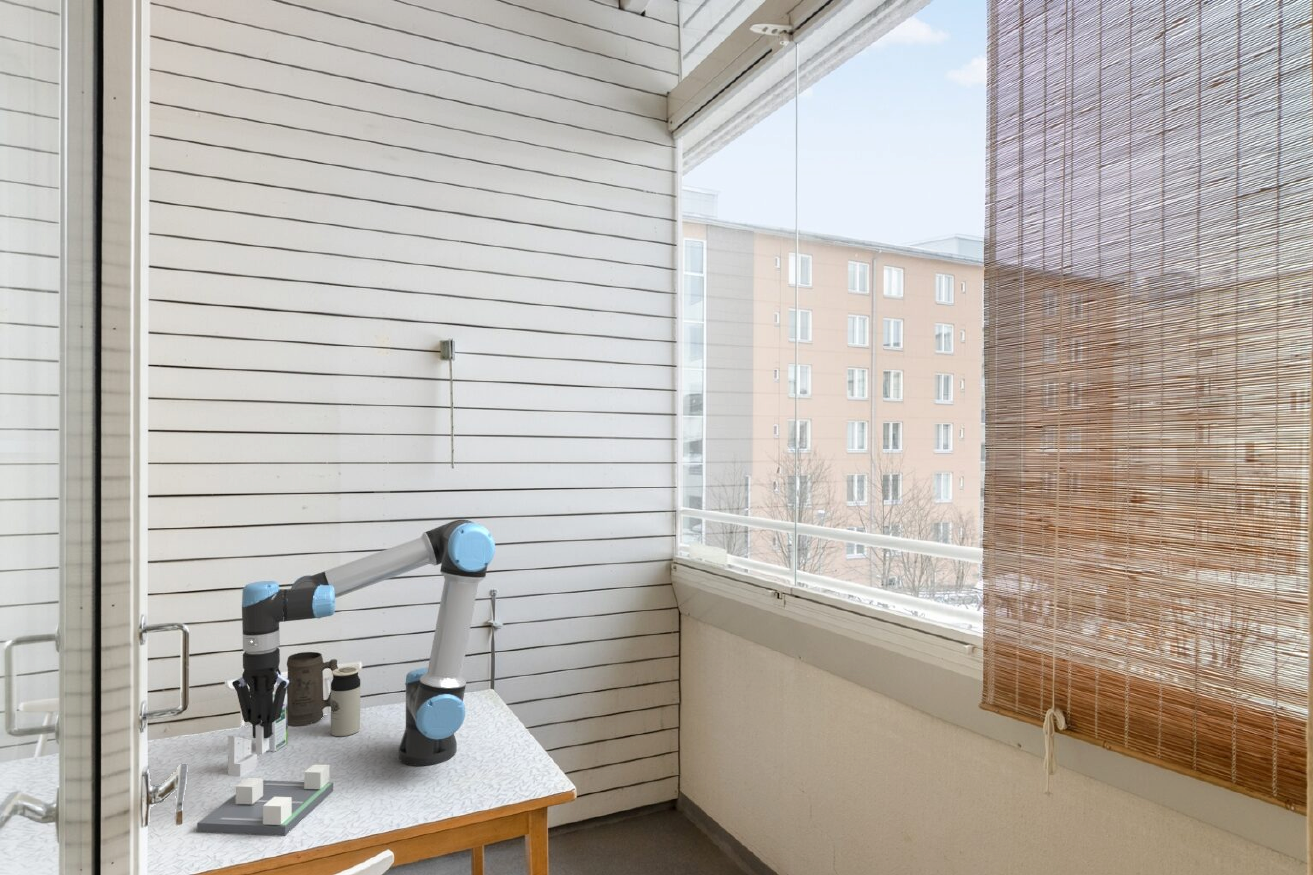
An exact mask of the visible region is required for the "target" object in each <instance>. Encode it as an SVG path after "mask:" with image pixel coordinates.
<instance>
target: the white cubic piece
mask: <svg viewBox="0 0 1313 875" xmlns="http://www.w3.org/2000/svg"><path fill="white" fill-rule="evenodd" d="M303 774H304V778H303V779H304V780H303V782H304V789H321V788H323V787H324V786H325V785H326V784H327V783H330V764H312V765H311V766H310V767H309V768H307V769H306V770H305V771H304V773H303Z"/></svg>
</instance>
